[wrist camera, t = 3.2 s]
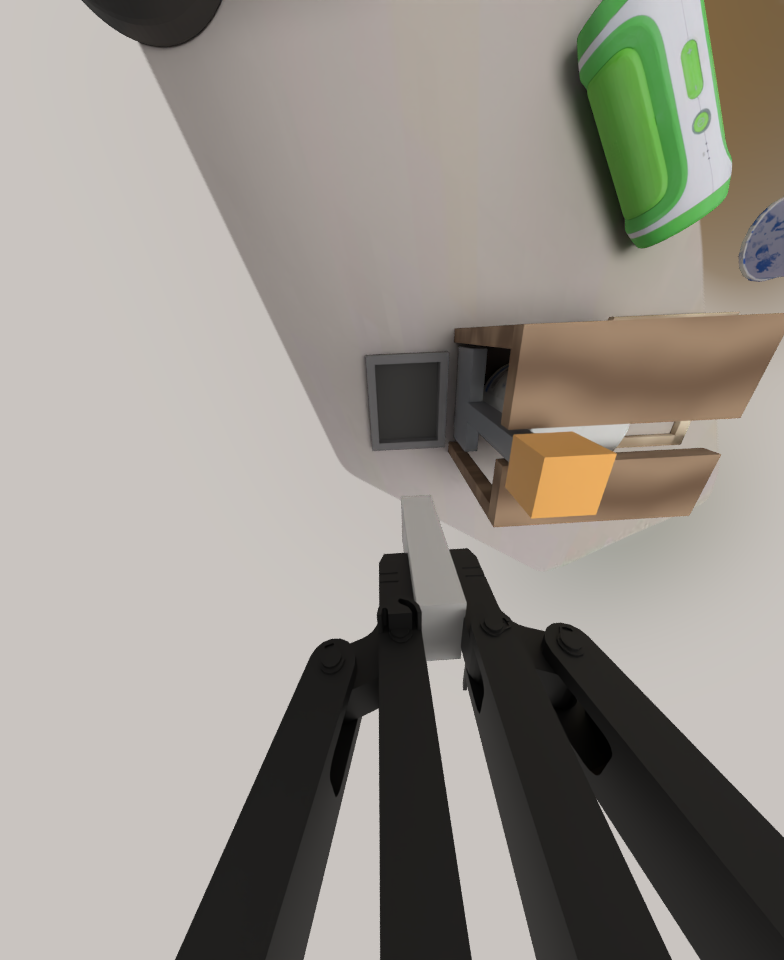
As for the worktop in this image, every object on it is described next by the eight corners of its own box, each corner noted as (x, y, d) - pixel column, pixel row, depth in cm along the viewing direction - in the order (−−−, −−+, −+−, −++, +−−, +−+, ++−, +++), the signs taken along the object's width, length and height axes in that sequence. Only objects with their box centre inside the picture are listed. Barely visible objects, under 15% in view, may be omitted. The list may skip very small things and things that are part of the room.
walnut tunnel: (454, 328, 35) (524, 324, 18) (600, 322, 35) (795, 312, 19) (448, 451, 42) (493, 527, 26) (568, 445, 43) (689, 515, 26)
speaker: (680, 209, 31) (765, 174, 24) (614, 260, 33) (675, 241, 26) (632, -11, 24) (730, -144, 17) (552, 69, 26) (613, -23, 19)
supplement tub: (541, 428, 41) (618, 472, 28) (476, 433, 41) (522, 480, 28) (554, 355, 37) (652, 366, 24) (480, 361, 37) (538, 376, 24)
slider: (448, 347, 35) (564, 369, 13) (480, 345, 35) (647, 365, 14) (444, 436, 41) (522, 556, 19) (472, 435, 41) (582, 552, 19)
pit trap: (366, 355, 36) (365, 356, 34) (445, 351, 36) (449, 352, 34) (372, 445, 41) (372, 450, 39) (441, 442, 41) (444, 447, 40)
